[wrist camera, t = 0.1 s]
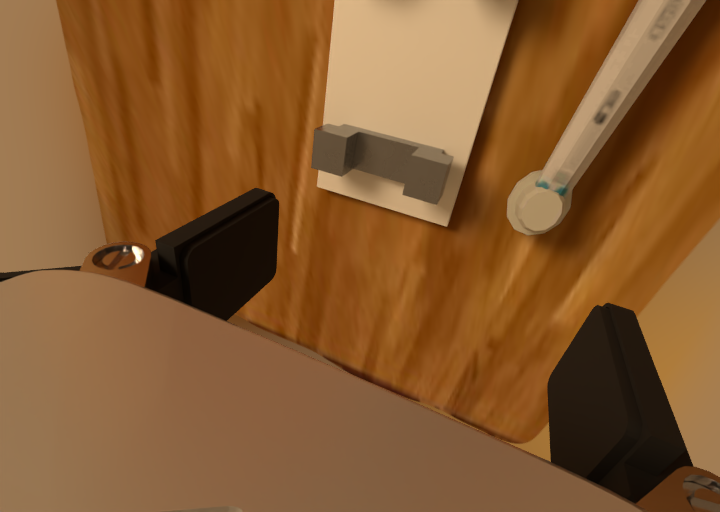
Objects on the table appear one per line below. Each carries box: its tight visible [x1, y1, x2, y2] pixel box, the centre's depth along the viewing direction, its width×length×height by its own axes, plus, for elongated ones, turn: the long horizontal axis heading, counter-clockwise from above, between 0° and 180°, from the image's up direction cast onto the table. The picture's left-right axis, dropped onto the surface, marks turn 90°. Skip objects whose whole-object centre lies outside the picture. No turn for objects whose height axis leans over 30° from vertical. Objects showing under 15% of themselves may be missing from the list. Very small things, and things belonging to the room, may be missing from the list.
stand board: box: [317, 0, 519, 227], centre depth 36 cm, size 30×16×2 cm, turn 171°
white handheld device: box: [507, 0, 706, 235], centre depth 31 cm, size 5×7×25 cm
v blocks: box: [311, 124, 454, 205], centre depth 34 cm, size 22×14×4 cm, turn 171°
